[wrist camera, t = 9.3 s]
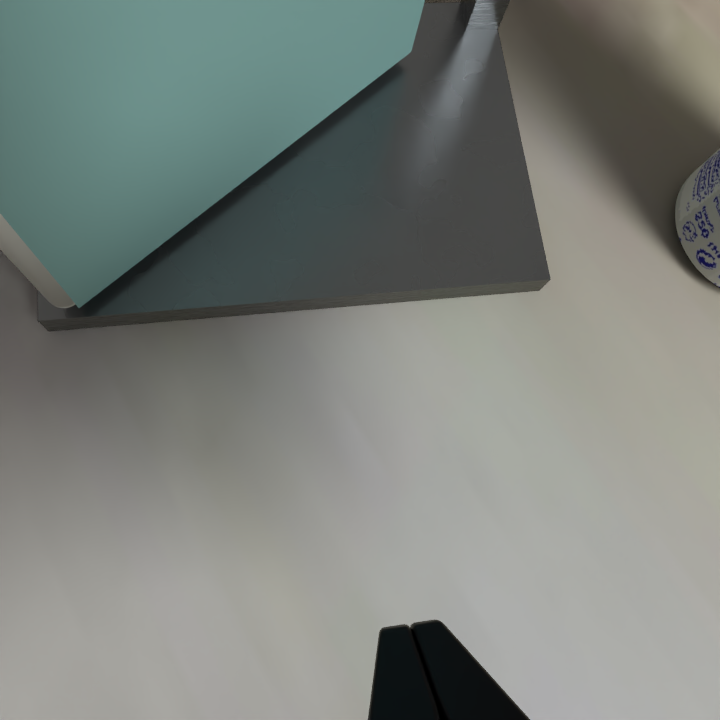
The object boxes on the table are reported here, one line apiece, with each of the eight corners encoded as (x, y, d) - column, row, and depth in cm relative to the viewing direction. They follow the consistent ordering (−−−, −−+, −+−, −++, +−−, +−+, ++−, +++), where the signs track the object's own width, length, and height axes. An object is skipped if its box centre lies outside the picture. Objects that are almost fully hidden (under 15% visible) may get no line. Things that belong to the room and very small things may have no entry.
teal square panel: (410, 52, 24) (568, -535, 11) (65, 319, 20) (-327, -101, 7) (390, 33, 24) (522, -571, 11) (43, 295, 20) (-382, -161, 7)
